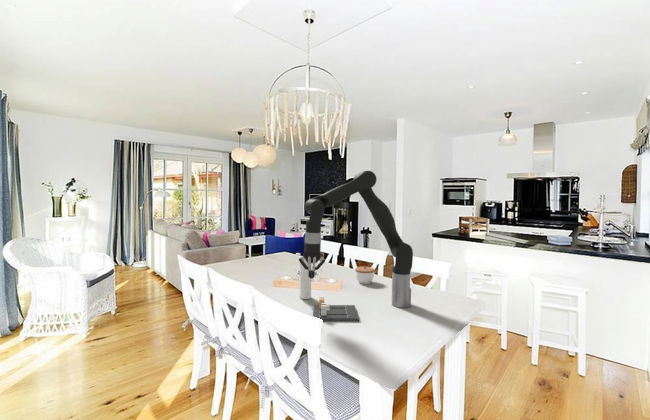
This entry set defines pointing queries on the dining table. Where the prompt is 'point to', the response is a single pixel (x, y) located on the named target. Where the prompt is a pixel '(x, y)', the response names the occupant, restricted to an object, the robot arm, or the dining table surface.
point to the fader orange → (321, 301)
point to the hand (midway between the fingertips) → (311, 278)
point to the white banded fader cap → (323, 309)
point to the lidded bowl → (364, 274)
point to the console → (337, 313)
